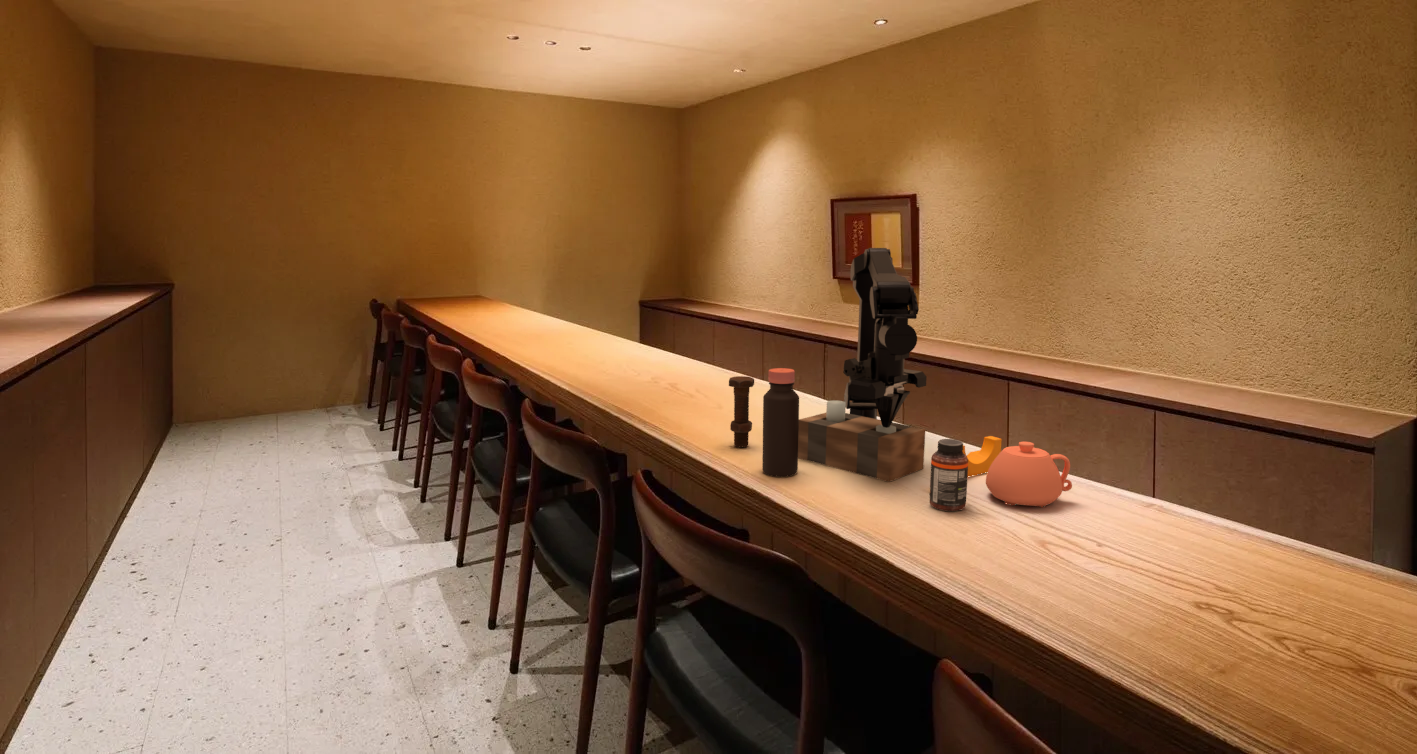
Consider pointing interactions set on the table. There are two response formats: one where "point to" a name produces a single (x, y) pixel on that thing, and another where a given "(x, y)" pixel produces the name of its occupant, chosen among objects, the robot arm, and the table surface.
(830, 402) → the peg
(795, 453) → the dark brown bottle
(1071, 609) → the table surface
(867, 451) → the socket block
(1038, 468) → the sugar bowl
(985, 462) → the orange tape dispenser
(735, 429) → the bolt
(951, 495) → the supplement bottle
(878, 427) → the peg
